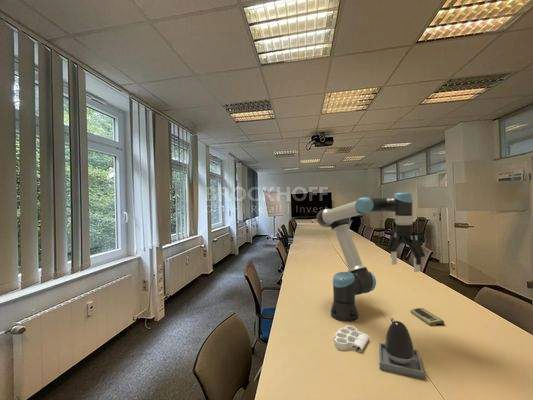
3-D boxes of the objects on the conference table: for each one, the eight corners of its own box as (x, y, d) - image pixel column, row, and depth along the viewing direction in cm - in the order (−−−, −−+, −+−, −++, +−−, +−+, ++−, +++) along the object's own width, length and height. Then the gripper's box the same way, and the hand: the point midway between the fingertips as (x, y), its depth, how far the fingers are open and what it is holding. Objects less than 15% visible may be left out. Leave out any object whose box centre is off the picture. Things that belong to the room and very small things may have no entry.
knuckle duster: (359, 358, 102) (326, 346, 111) (371, 338, 117) (341, 329, 126) (359, 349, 102) (326, 338, 111) (371, 331, 117) (341, 322, 126)
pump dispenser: (404, 351, 104) (403, 315, 104) (420, 368, 93) (419, 327, 94) (380, 352, 103) (379, 316, 104) (393, 369, 93) (392, 328, 93)
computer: (410, 313, 142) (409, 307, 142) (423, 312, 142) (423, 306, 142) (429, 327, 126) (429, 320, 126) (444, 326, 127) (444, 319, 127)
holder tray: (379, 369, 95) (379, 362, 95) (379, 348, 108) (379, 342, 108) (424, 379, 89) (424, 372, 89) (418, 356, 102) (417, 350, 102)
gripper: (433, 226, 110) (434, 274, 109) (390, 222, 134) (391, 261, 133) (420, 226, 108) (421, 275, 107) (379, 222, 131) (380, 262, 131)
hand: (405, 267), depth 120 cm, fingers open, 13 cm apart
